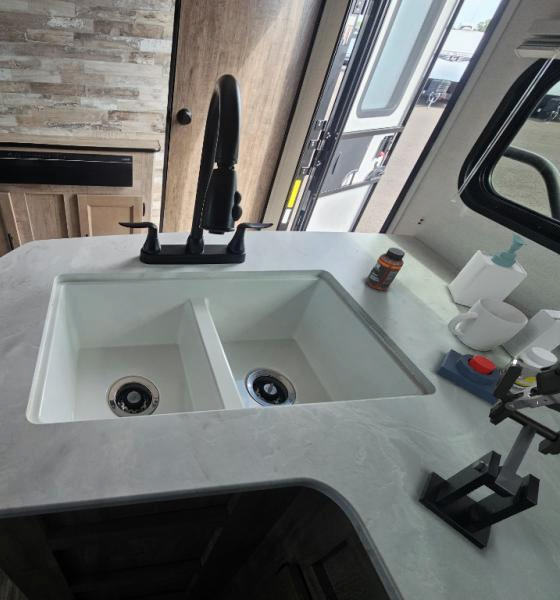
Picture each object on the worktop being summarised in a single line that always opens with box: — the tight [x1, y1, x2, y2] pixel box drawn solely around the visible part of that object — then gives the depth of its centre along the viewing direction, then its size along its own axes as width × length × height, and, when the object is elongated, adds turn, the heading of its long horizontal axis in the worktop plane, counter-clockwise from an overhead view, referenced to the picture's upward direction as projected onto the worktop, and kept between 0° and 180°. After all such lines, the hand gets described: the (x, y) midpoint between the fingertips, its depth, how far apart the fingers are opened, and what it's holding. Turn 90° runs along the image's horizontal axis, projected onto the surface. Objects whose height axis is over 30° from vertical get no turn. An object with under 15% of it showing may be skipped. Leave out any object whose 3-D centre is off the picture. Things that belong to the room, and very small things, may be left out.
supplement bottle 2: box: [499, 347, 559, 389], centre depth 68 cm, size 5×5×8 cm
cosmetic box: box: [501, 308, 560, 358], centre depth 74 cm, size 6×4×12 cm
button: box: [469, 354, 496, 374], centre depth 67 cm, size 4×4×2 cm
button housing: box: [435, 348, 501, 405], centre depth 69 cm, size 8×10×4 cm
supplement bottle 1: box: [365, 247, 406, 291], centre depth 91 cm, size 6×6×11 cm
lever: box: [484, 410, 559, 498], centre depth 44 cm, size 12×5×2 cm, turn 132°
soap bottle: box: [448, 232, 529, 308], centre depth 87 cm, size 9×9×19 cm
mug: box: [447, 298, 529, 352], centre depth 76 cm, size 13×9×10 cm
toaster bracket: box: [418, 450, 541, 550], centre depth 45 cm, size 6×8×12 cm
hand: (517, 434), depth 47 cm, fingers closed on lever, 5 cm apart
